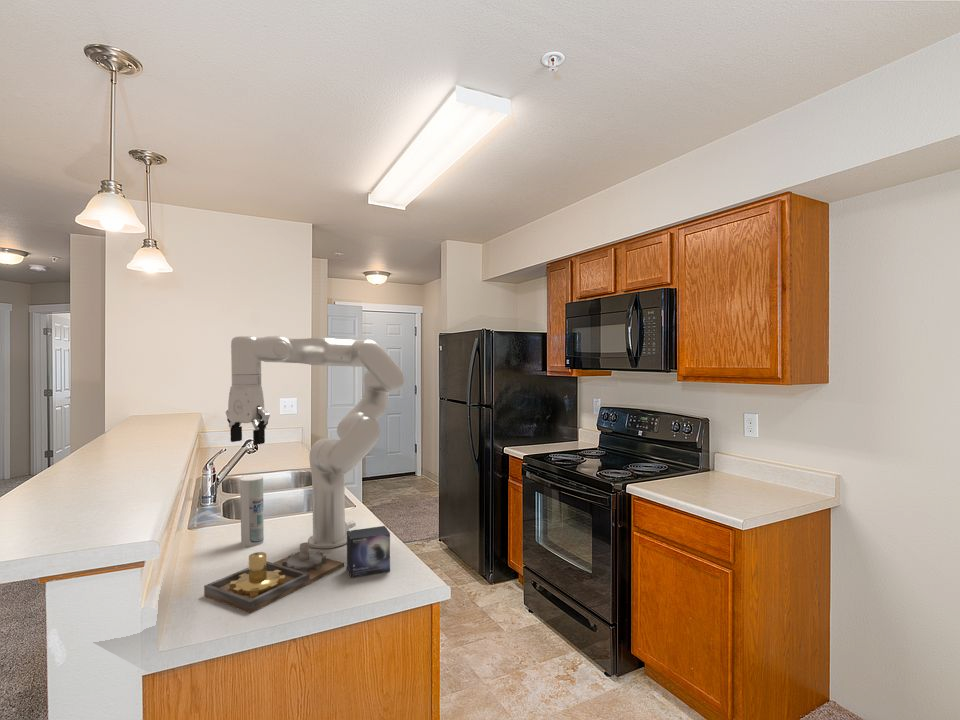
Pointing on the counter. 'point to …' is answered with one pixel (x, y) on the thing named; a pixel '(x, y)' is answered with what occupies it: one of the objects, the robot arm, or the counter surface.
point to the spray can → (252, 510)
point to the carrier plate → (297, 575)
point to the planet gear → (257, 577)
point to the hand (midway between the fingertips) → (247, 442)
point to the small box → (368, 551)
